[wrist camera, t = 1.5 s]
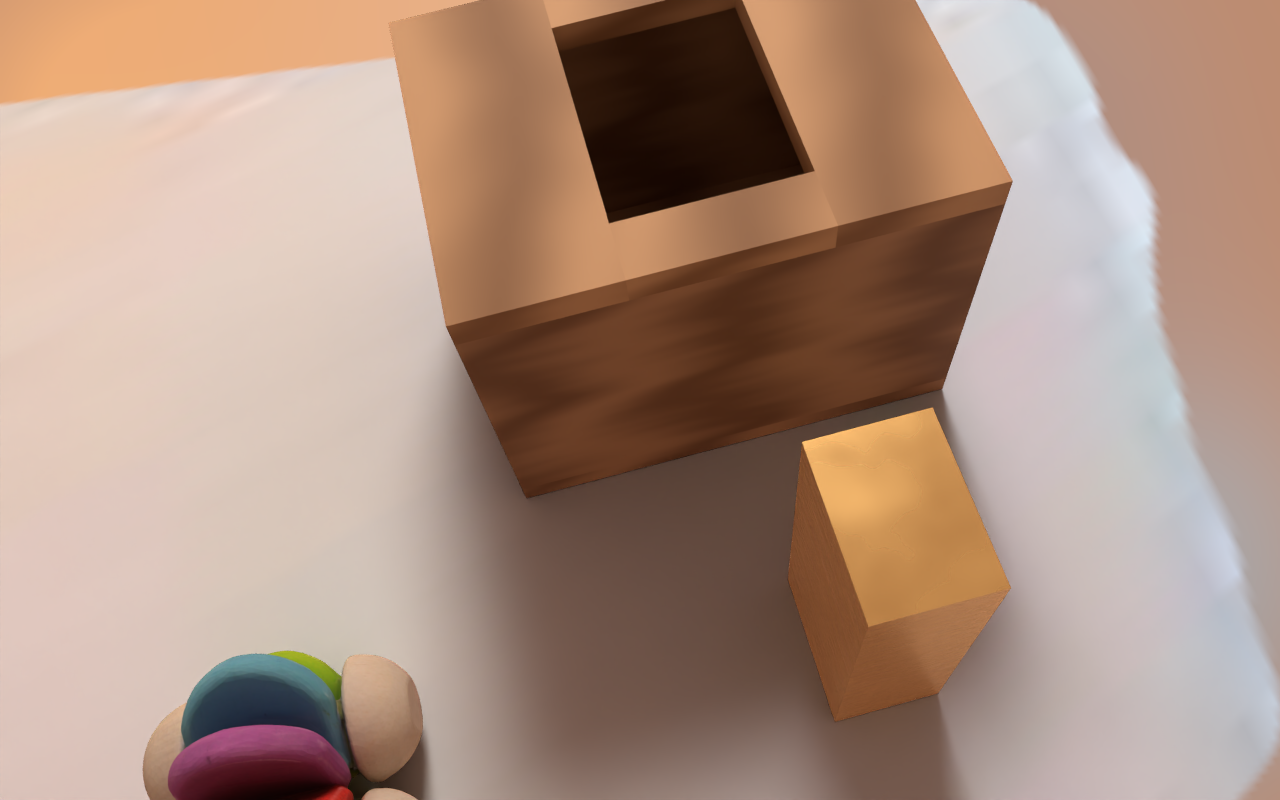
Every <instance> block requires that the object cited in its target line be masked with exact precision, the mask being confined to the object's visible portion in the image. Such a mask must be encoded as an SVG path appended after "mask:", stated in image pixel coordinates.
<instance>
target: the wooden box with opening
mask: <svg viewBox="0 0 1280 800" xmlns="http://www.w3.org/2000/svg"><path fill="white" fill-rule="evenodd" d="M389 28H390V33H391V39H392V44H393V49H394V54H395V60H396V65H397V70H398V76H399V81H400V86H401V91H402V97H403V102H404V107H405V113H406V118H407V123H408V128H409V134H410V139H411V144H412V150H413V155H414V160H415V165H416V171H417V176H418V181H419V186H420V192H421V197H422V202H423V208H424V213H425V218H426V223H427V229H428V234H429V239H430V245H431V250H432V255H433V260H434V266H435V271H436V276H437V281H438V287H439V292H440V297H441V303H442V308H443V313H444V318H445V324H446V327H447V330H448V332H449V334H450V336H451V338H452V340H453V342H454V345H455V347H456V349H457V351H458V353H459V355H460V357H461V360H462V362H463V364H464V366H465V368H466V370H467V372H468V375H469V377H470V379H471V381H472V383H473V385H474V387H475V389H476V392H477V394H478V396H479V398H480V400H481V402H482V404H483V407H484V409H485V411H486V413H487V415H488V417H489V419H490V422H491V424H492V426H493V428H494V430H495V432H496V434H497V437H498V439H499V441H500V443H501V445H502V447H503V449H504V451H505V454H506V456H507V458H508V460H509V462H510V464H511V466H512V469H513V471H514V473H515V475H516V477H517V479H518V481H519V484H520V486H521V488H522V490H523V492H524V494H525V496H526V498H530V497H533V496H537V495H541V494H545V493H549V492H552V491H556V490H560V489H564V488H568V487H571V486H575V485H579V484H583V483H587V482H590V481H594V480H598V479H602V478H606V477H609V476H613V475H617V474H621V473H624V472H628V471H632V470H636V469H640V468H643V467H647V466H651V465H655V464H659V463H662V462H666V461H670V460H674V459H678V458H681V457H685V456H689V455H693V454H697V453H700V452H704V451H708V450H712V449H716V448H719V447H723V446H727V445H731V444H734V443H738V442H742V441H746V440H750V439H753V438H757V437H761V436H765V435H769V434H772V433H776V432H780V431H784V430H788V429H791V428H795V427H799V426H803V425H807V424H810V423H814V422H818V421H822V420H825V419H829V418H833V417H837V416H841V415H844V414H848V413H852V412H856V411H860V410H863V409H867V408H871V407H875V406H879V405H882V404H886V403H890V402H894V401H898V400H901V399H905V398H909V397H913V396H917V395H920V394H924V393H928V392H932V391H935V390H939V389H942V388H943V385H944V382H945V379H946V376H947V373H948V370H949V367H950V365H951V362H952V359H953V356H954V353H955V350H956V347H957V344H958V341H959V338H960V335H961V332H962V329H963V326H964V323H965V320H966V317H967V314H968V311H969V309H970V306H971V303H972V300H973V297H974V294H975V291H976V288H977V285H978V282H979V279H980V276H981V273H982V270H983V267H984V264H985V261H986V258H987V255H988V253H989V250H990V247H991V244H992V241H993V238H994V235H995V232H996V229H997V226H998V223H999V220H1000V217H1001V214H1002V211H1003V208H1004V205H1005V202H1006V199H1007V197H1008V194H1009V191H1010V188H1011V185H1012V182H1013V181H1012V179H1011V177H1010V175H1009V173H1008V171H1007V169H1006V168H1005V166H1004V164H1003V162H1002V160H1001V158H1000V156H999V155H998V153H997V151H996V149H995V147H994V145H993V143H992V142H991V140H990V138H989V136H988V134H987V132H986V130H985V129H984V127H983V125H982V123H981V121H980V119H979V117H978V116H977V114H976V112H975V110H974V108H973V106H972V104H971V103H970V101H969V99H968V97H967V95H966V93H965V91H964V90H963V88H962V86H961V84H960V82H959V80H958V78H957V77H956V75H955V73H954V71H953V69H952V67H951V65H950V64H949V62H948V60H947V58H946V56H945V54H944V52H943V51H942V49H941V47H940V45H939V43H938V41H937V39H936V38H935V36H934V34H933V32H932V30H931V28H930V27H929V25H928V23H927V21H926V19H925V17H924V15H923V14H922V12H921V10H920V8H919V6H918V4H917V2H916V1H915V0H480V1H476V2H472V3H467V4H464V5H459V6H455V7H451V8H447V9H443V10H439V11H435V12H431V13H426V14H422V15H418V16H414V17H410V18H406V19H402V20H399V21H394V22H390V23H389Z"/></svg>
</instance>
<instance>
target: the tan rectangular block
mask: <svg viewBox="0 0 1280 800" xmlns="http://www.w3.org/2000/svg"><path fill="white" fill-rule="evenodd" d="M788 582H789V585H790V588H791V591H792V594H793V597H794V600H795V603H796V606H797V609H798V612H799V615H800V618H801V621H802V624H803V627H804V630H805V633H806V636H807V639H808V642H809V645H810V648H811V651H812V654H813V657H814V660H815V663H816V667H817V670H818V673H819V676H820V679H821V682H822V685H823V688H824V691H825V694H826V697H827V700H828V703H829V706H830V709H831V712H832V715H833V718H834V721H835V722H836V721H840V720H843V719H847V718H851V717H854V716H858V715H862V714H865V713H869V712H873V711H876V710H880V709H883V708H887V707H891V706H894V705H898V704H902V703H905V702H909V701H912V700H916V699H920V698H923V697H927V696H931V695H934V694H938V693H939V691H940V690H941V688H942V687H943V685H944V684H945V682H946V681H947V680H948V678H949V677H950V675H951V674H952V672H953V671H954V670H955V668H956V667H957V665H958V664H959V662H960V661H961V659H962V658H963V657H964V655H965V654H966V652H967V651H968V649H969V648H970V646H971V645H972V644H973V642H974V641H975V639H976V638H977V636H978V635H979V633H980V632H981V631H982V629H983V628H984V626H985V625H986V623H987V622H988V620H989V619H990V618H991V616H992V615H993V613H994V612H995V610H996V609H997V608H998V606H999V605H1000V603H1001V602H1002V600H1003V599H1004V597H1005V596H1006V595H1007V593H1008V592H1009V590H1010V589H1011V587H1010V585H1009V582H1008V580H1007V578H1006V575H1005V573H1004V571H1003V568H1002V566H1001V564H1000V561H999V559H998V557H997V555H996V552H995V550H994V548H993V545H992V543H991V541H990V538H989V536H988V534H987V532H986V529H985V527H984V525H983V522H982V520H981V518H980V515H979V513H978V511H977V509H976V506H975V504H974V502H973V499H972V497H971V495H970V492H969V490H968V488H967V486H966V483H965V481H964V479H963V476H962V474H961V472H960V469H959V467H958V465H957V462H956V460H955V458H954V456H953V453H952V451H951V449H950V446H949V444H948V442H947V439H946V437H945V435H944V433H943V430H942V428H941V426H940V423H939V421H938V419H937V416H936V414H935V412H934V410H933V407H932V408H929V409H925V410H921V411H917V412H913V413H910V414H906V415H902V416H898V417H895V418H891V419H887V420H883V421H879V422H876V423H872V424H868V425H864V426H861V427H857V428H853V429H849V430H845V431H842V432H838V433H834V434H830V435H827V436H823V437H819V438H815V439H811V440H808V441H804V442H802V447H801V457H800V466H799V476H798V485H797V495H796V505H795V514H794V524H793V533H792V543H791V552H790V562H789V572H788Z"/></svg>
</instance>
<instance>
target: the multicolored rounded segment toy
mask: <svg viewBox="0 0 1280 800" xmlns="http://www.w3.org/2000/svg"><path fill="white" fill-rule="evenodd" d="M422 729H423V716H422V709H421V704H420V699H419V695H418V692H417V689H416V686H415V684H414V682H413V680H412V678H411V677H410V675H409V674H408V673H407V672H406V671H405V670H403V669H402V668H401V667H400V666H399V665H397V664H396V663H394V662H392V661H391V660H388V659H386V658H383V657H379V656H375V655H353V656H350V657H349V658H348V659H347V660H346V662H345V664H344V666H343V672H342V677H341V676H340V675H338V674H337V673H336V672H335V671H334V670H333V669H332V668H331V667H329V666H328V665H327V664H326V663H324V662H323V661H321V660H319V659H317V658H315V657H312V656H310V655H307V654H304V653H300V652H295V651H280V652H274V653H270V654H248V655H240V656H236V657H232V658H230V659H228V660H226V661H224V662H222V663H220V664H219V665H217V666H216V667H214V668H213V669H212V670H211V671H209V672H208V673H207V674H206V675H205V676H204V677H203V678H202V679H201V680H200V681H199V682H198V684H197V685H196V686H195V688H194V689H193V691H192V693H191V695H190V697H189V699H188V701H187V703H185V704H183V705H181V706H180V707H178V708H177V709H175V710H174V711H173V712H171V713H170V714H169V715H168V716H167V717H166V718H165V719H164V720H163V721H162V722H161V723H160V724H159V726H158V727H157V728H156V730H155V731H154V733H153V734H152V736H151V738H150V740H149V742H148V745H147V748H146V751H145V755H144V761H143V778H144V784H145V788H146V791H147V794H148V796H149V798H150V800H354V798H353V793H352V792H351V791H350V790H349V789H348V785H349V783H350V781H351V778H353V777H354V776H356V775H357V774H358V773H359V772H360V773H361V774H362V775H363V776H364V777H365V778H366V779H368V780H369V781H370V782H375V783H376V782H382V781H384V780H386V779H387V778H388V777H390V776H391V775H393V774H394V773H396V772H397V771H398V770H399V769H401V768H402V767H403V766H404V765H405V764H406V762H407V761H408V760H409V759H410V758H411V756H412V755H413V753H414V751H415V750H416V748H417V746H418V743H419V741H420V739H421V734H422ZM361 800H417V799H416V798H415V797H413V796H411V795H409V794H407V793H405V792H403V791H400V790H396V789H391V788H374V789H371V790H369V791H368V792H367V793H366V794H365V795H364V796H363V797H362V799H361Z"/></svg>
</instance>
